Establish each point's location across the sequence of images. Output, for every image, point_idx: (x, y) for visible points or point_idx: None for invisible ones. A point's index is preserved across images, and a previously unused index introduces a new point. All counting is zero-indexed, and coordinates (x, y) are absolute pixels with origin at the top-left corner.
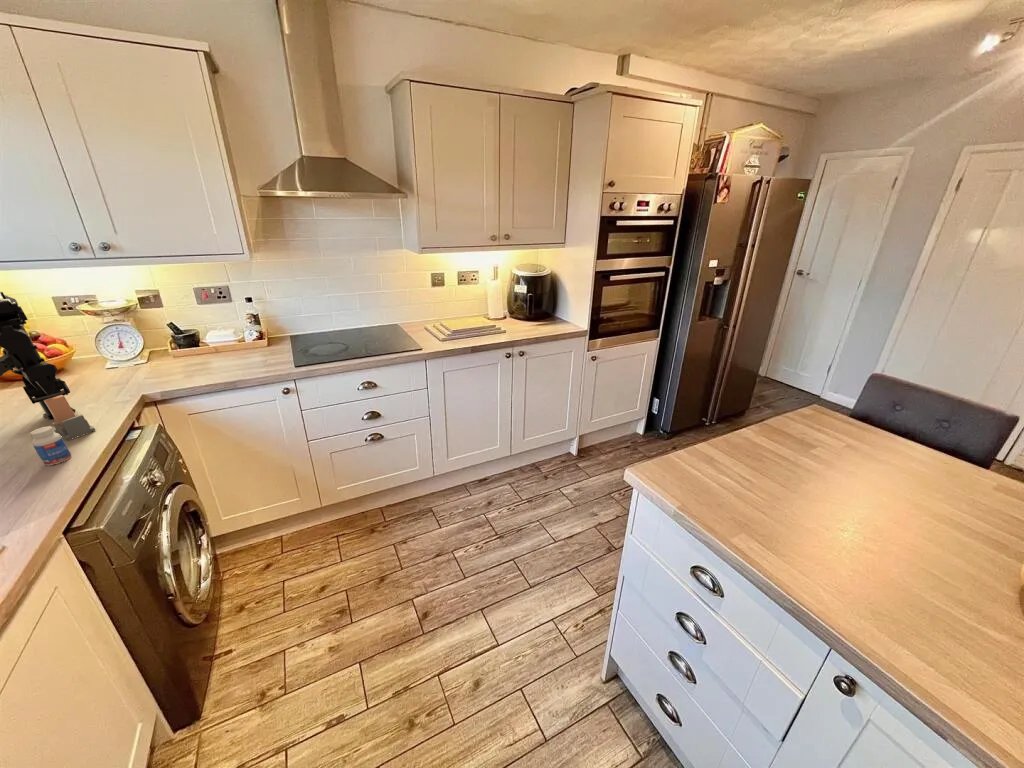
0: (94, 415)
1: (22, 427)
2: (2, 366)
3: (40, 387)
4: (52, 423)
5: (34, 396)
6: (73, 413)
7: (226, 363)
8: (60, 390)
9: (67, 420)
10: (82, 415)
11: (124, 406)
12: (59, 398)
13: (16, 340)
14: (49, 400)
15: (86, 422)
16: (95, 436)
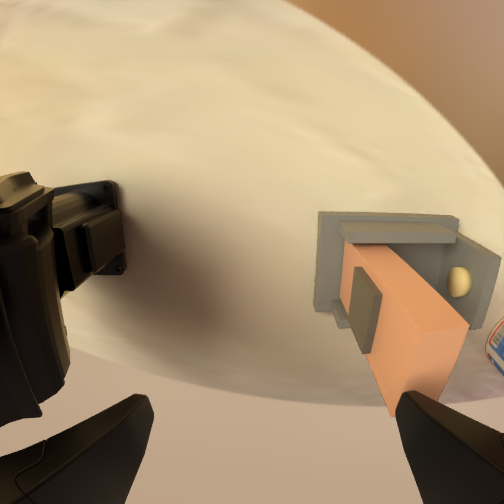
0: (263, 143)
1: (120, 338)
2: None
3: (142, 420)
4: (338, 327)
5: (68, 356)
6: (402, 261)
7: None
8: (53, 234)
9: (485, 311)
10: (499, 258)
11: (285, 27)
12: (455, 348)
13: None
14: (437, 395)
15: (477, 244)
16: (487, 237)
